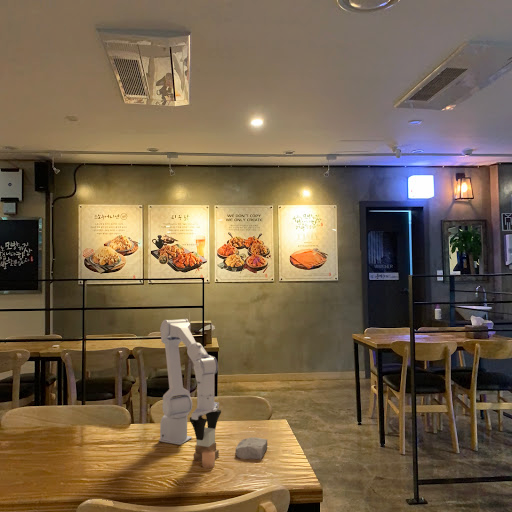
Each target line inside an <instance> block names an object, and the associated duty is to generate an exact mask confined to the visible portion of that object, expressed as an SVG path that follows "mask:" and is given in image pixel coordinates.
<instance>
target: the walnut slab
mask: <svg viewBox="0 0 512 512" xmlns="http://www.w3.org/2000/svg"><path fill="white" fill-rule="evenodd" d="M219 451H220V450H219V449H216V451H214V452H215V460H216V459H217V458H219V456H220V453H219ZM193 461H198V462H202V454H198V453H195V452H193Z"/></svg>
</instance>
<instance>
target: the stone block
mask: <svg viewBox="0 0 512 512" xmlns="http://www.w3.org/2000/svg"><path fill="white" fill-rule="evenodd" d="M267 448H268V439H267V438H261V437H253V436H251V437H248V438H246V437H245V438H243V439H241V440H240V441H239V443H237V446H235V454H236V457H237V458H239V459H244V460H245V459H247V460H248V459H249V460H251V459H252V460H262V459H263V456H264V455H265V453H266V451H267V450H268V449H267Z"/></svg>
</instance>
